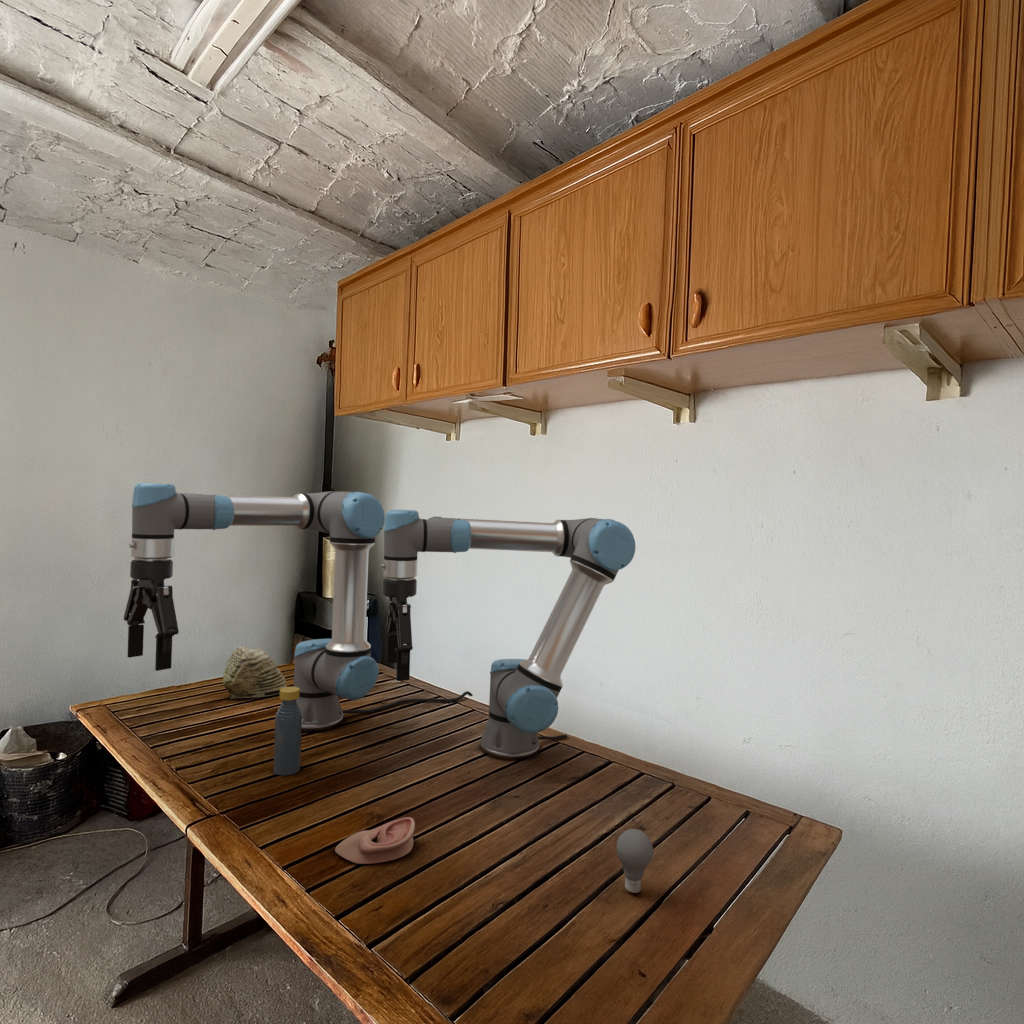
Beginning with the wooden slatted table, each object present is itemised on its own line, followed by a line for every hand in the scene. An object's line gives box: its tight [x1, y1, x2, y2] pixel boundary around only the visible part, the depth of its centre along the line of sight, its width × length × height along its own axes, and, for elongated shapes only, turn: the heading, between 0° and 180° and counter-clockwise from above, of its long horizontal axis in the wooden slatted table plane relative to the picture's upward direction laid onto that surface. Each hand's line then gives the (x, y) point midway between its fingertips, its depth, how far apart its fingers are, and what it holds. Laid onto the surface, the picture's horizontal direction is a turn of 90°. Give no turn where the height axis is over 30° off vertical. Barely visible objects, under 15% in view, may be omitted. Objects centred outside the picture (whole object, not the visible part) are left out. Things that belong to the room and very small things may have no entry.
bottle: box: [272, 699, 303, 776], centre depth 146 cm, size 6×6×18 cm
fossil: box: [222, 646, 288, 699], centre depth 198 cm, size 9×18×15 cm, turn 132°
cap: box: [279, 686, 300, 701], centre depth 146 cm, size 4×4×2 cm
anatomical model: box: [334, 816, 416, 865], centre depth 115 cm, size 13×4×12 cm
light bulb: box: [615, 828, 654, 894], centre depth 106 cm, size 6×6×10 cm
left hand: (148, 662), depth 129 cm, fingers open, 13 cm apart
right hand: (397, 671), depth 144 cm, fingers open, 13 cm apart
